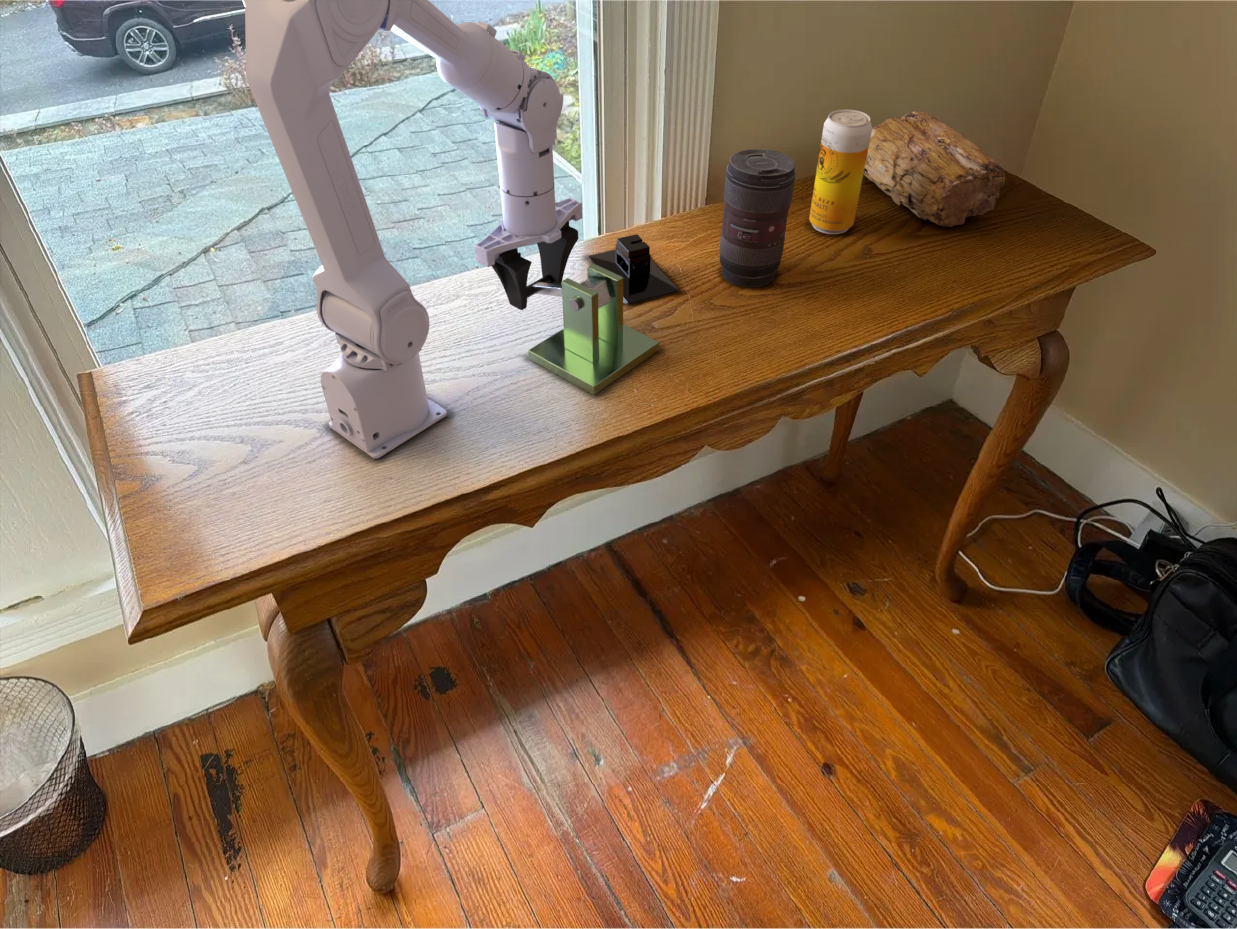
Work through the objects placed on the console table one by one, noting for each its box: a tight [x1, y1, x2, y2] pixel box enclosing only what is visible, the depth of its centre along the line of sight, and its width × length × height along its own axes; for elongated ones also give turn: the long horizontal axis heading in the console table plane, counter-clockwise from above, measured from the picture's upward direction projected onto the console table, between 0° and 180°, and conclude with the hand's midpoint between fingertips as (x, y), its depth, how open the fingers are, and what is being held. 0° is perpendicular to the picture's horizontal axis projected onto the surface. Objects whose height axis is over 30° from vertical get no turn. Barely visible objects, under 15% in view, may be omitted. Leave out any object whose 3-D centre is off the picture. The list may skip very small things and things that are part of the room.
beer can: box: [808, 108, 873, 235], centre depth 120 cm, size 6×6×15 cm
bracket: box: [527, 263, 660, 396], centre depth 99 cm, size 10×11×10 cm
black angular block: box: [588, 233, 680, 306], centre depth 113 cm, size 12×7×5 cm, turn 25°
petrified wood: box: [863, 110, 1006, 228], centre depth 127 cm, size 19×13×10 cm
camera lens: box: [719, 148, 796, 288], centre depth 110 cm, size 8×8×15 cm
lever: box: [527, 275, 611, 309], centre depth 100 cm, size 12×5×2 cm, turn 48°
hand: (535, 296), depth 104 cm, fingers closed on lever, 5 cm apart
